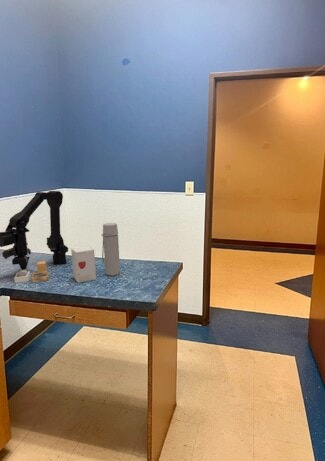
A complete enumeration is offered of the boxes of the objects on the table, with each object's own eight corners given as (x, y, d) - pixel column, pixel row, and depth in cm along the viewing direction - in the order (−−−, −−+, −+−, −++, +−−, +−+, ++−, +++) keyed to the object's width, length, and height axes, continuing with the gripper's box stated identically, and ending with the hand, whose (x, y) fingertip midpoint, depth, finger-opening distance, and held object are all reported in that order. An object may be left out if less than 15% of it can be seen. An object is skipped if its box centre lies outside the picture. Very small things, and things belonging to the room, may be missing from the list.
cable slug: (27, 275, 164) (26, 269, 164) (26, 279, 160) (25, 272, 159) (20, 276, 164) (20, 269, 163) (19, 279, 159) (18, 273, 158)
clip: (30, 275, 164) (29, 271, 164) (28, 281, 157) (27, 276, 156) (17, 277, 163) (16, 272, 162) (14, 282, 155) (14, 277, 155)
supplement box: (77, 283, 153) (74, 252, 150) (73, 277, 161) (70, 247, 158) (96, 279, 157) (94, 249, 154) (91, 274, 165) (89, 244, 162)
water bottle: (123, 272, 167) (120, 223, 161) (114, 277, 160) (111, 226, 154) (108, 269, 170) (105, 222, 165) (99, 274, 163) (95, 225, 158)
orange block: (46, 270, 172) (45, 261, 171) (46, 273, 168) (45, 263, 167) (38, 271, 171) (37, 261, 170) (37, 273, 167) (36, 264, 166)
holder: (49, 275, 165) (49, 271, 164) (48, 280, 157) (47, 276, 157) (33, 276, 163) (32, 273, 162) (31, 282, 155) (30, 278, 155)
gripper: (6, 239, 169) (9, 268, 172) (-2, 248, 151) (2, 280, 154) (29, 237, 171) (32, 266, 175) (24, 246, 154) (28, 278, 157)
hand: (23, 272), depth 165 cm, fingers closed
